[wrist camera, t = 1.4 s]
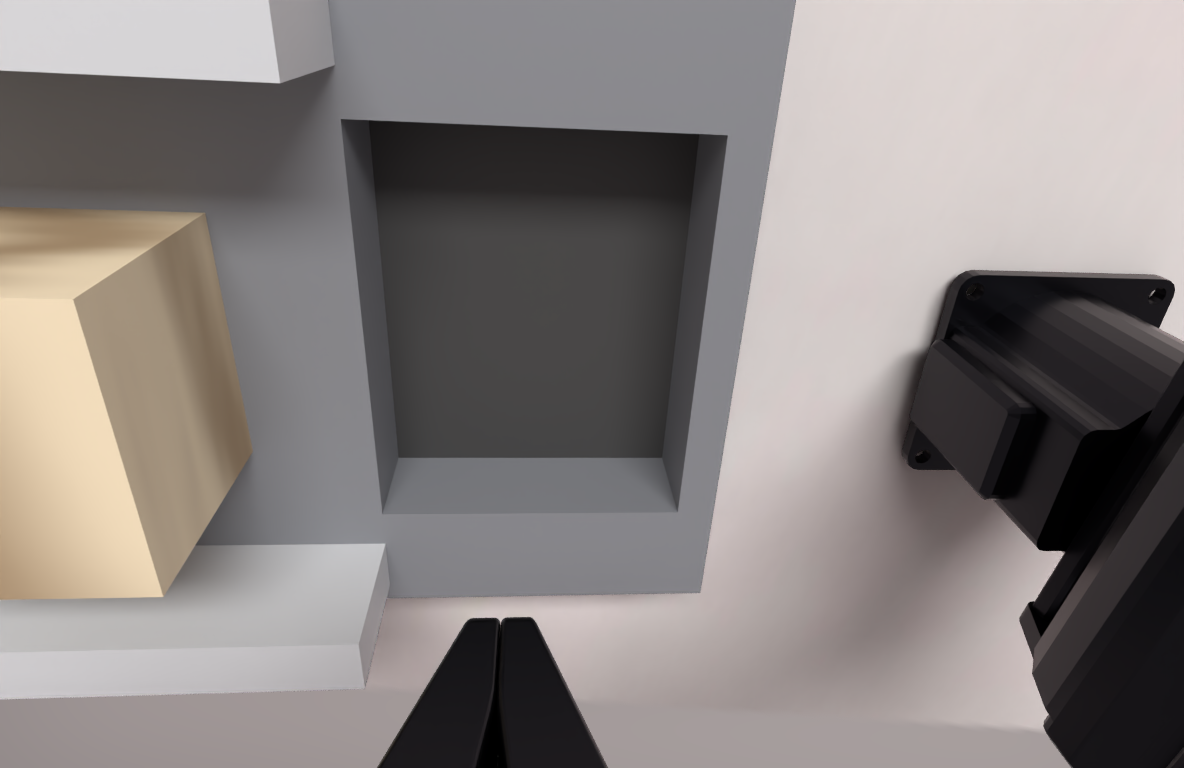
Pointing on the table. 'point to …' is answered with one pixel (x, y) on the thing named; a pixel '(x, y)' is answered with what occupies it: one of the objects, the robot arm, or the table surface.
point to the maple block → (111, 400)
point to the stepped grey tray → (413, 300)
